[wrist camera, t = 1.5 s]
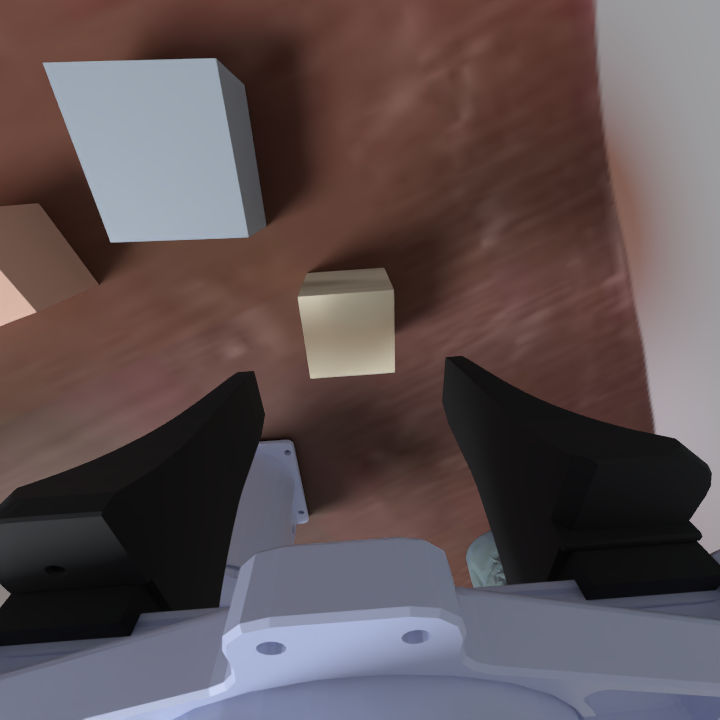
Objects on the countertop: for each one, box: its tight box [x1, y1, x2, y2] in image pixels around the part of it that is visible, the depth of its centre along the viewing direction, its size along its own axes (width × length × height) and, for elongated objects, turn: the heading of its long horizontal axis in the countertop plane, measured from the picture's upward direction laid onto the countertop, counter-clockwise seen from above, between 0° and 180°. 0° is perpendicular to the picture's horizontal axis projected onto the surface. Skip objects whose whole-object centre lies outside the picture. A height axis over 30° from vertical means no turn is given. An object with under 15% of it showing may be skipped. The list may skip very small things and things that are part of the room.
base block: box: [43, 58, 266, 243], centre depth 15 cm, size 6×6×4 cm
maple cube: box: [298, 268, 395, 379], centre depth 18 cm, size 4×4×4 cm
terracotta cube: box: [0, 203, 99, 326], centre depth 16 cm, size 4×4×4 cm
